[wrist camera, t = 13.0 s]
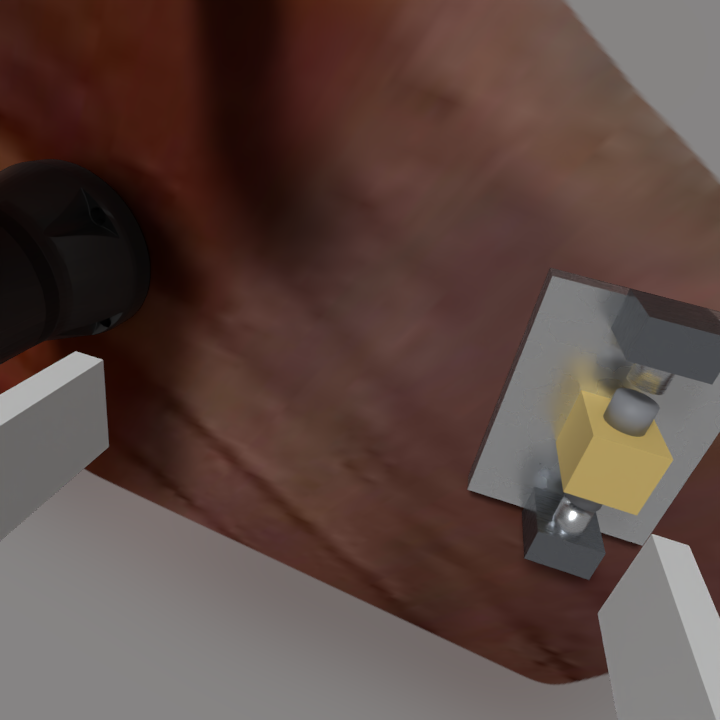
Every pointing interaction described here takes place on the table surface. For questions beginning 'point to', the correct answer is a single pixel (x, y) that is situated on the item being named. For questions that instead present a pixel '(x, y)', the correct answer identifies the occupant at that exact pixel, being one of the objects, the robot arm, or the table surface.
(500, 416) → the grey mounting plate
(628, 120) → the table surface
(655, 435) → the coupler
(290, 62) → the table surface
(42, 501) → the robot arm
